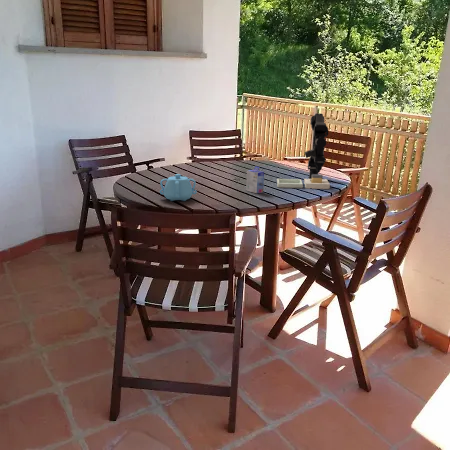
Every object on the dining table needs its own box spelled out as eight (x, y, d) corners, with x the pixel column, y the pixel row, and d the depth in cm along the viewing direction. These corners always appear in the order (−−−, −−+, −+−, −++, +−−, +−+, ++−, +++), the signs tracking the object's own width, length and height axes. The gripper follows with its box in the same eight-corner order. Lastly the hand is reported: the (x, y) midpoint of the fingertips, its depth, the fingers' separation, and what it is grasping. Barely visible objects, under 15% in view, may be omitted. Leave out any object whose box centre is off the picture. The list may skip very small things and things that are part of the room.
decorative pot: (182, 194, 255) (181, 170, 251) (199, 199, 243) (199, 174, 239) (157, 198, 245) (156, 173, 241) (174, 204, 233) (173, 178, 229)
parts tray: (277, 182, 285) (277, 178, 284) (300, 183, 284) (301, 179, 283) (277, 187, 272) (277, 183, 271) (302, 188, 271) (302, 184, 270)
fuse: (311, 185, 279) (311, 174, 277) (321, 185, 278) (321, 174, 276) (311, 186, 275) (312, 175, 273) (321, 187, 274) (322, 175, 272)
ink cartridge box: (264, 192, 259) (264, 167, 255) (256, 193, 256) (257, 168, 252) (252, 189, 267) (253, 165, 262) (245, 190, 264) (246, 166, 259)
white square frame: (304, 183, 284) (304, 178, 283) (326, 183, 283) (326, 179, 282) (305, 188, 270) (306, 183, 269) (329, 189, 269) (329, 184, 268)
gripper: (304, 143, 278) (302, 168, 283) (307, 147, 261) (305, 173, 266) (322, 143, 277) (320, 168, 282) (326, 147, 260) (324, 174, 265)
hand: (317, 171), depth 274 cm, fingers open, 9 cm apart
